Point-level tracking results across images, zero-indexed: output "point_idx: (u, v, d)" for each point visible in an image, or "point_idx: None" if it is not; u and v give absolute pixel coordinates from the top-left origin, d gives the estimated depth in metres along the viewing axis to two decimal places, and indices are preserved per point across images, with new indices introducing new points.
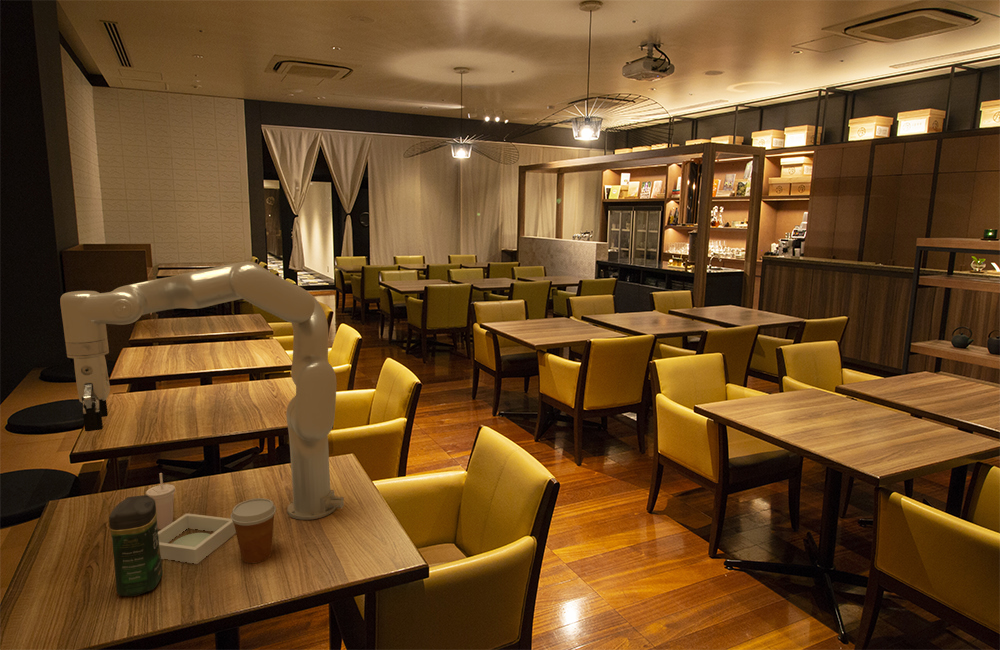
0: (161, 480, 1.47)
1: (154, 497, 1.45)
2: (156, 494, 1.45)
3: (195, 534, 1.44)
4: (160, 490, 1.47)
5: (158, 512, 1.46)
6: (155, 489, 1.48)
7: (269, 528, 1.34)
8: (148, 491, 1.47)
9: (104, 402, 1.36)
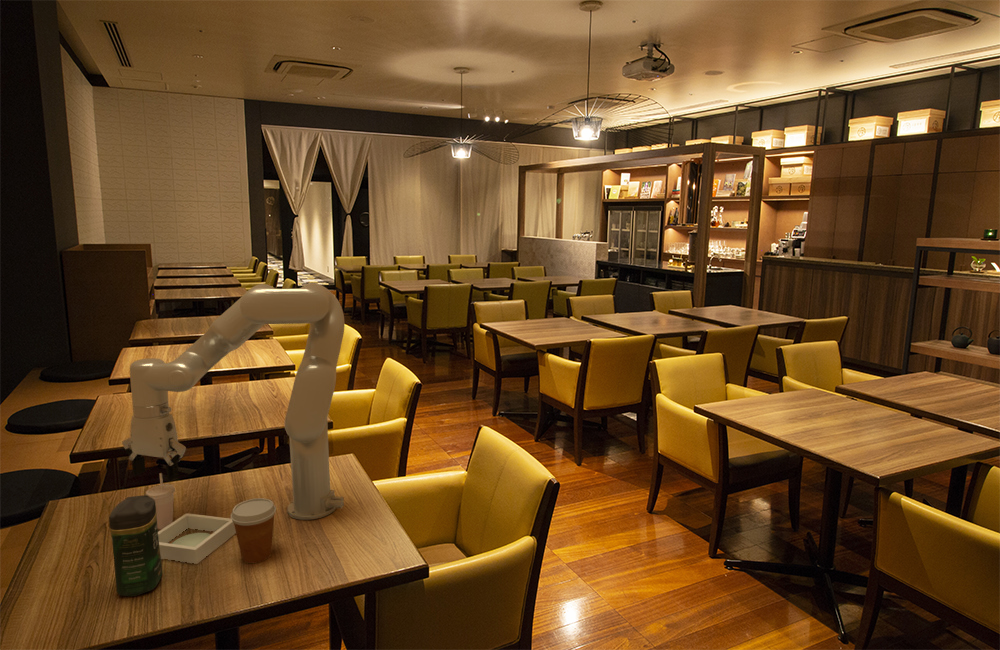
0: (161, 480, 1.47)
1: (154, 497, 1.45)
2: (156, 494, 1.45)
3: (195, 534, 1.44)
4: (160, 490, 1.47)
5: (158, 512, 1.46)
6: (155, 489, 1.48)
7: (269, 528, 1.34)
8: (148, 491, 1.47)
9: (143, 459, 1.49)
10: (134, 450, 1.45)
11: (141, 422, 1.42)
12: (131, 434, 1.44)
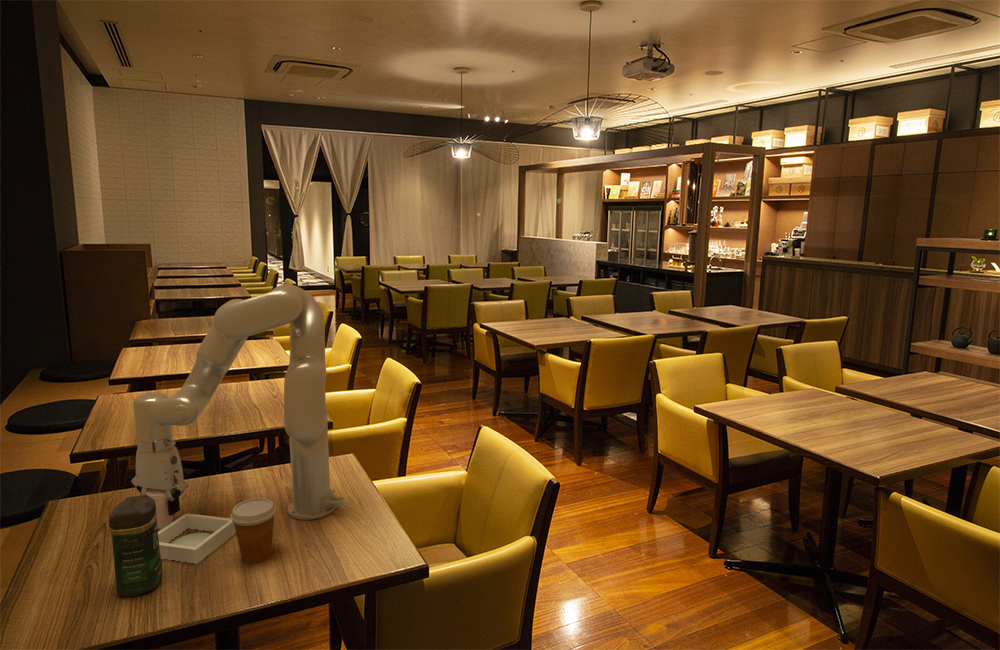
0: None
1: (154, 497, 1.45)
2: (155, 494, 1.45)
3: (195, 534, 1.44)
4: (160, 490, 1.47)
5: (158, 512, 1.46)
6: (155, 489, 1.48)
7: (269, 528, 1.34)
8: (148, 491, 1.47)
9: None
10: (140, 483, 1.46)
11: (145, 456, 1.44)
12: (136, 468, 1.46)
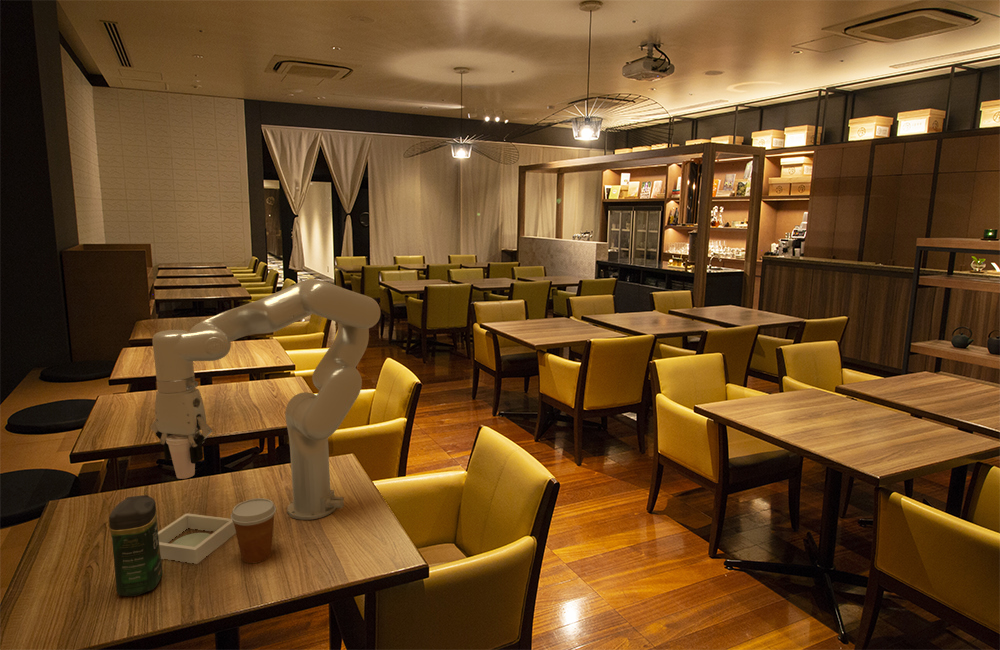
0: None
1: (175, 443, 1.33)
2: (177, 439, 1.34)
3: (195, 534, 1.44)
4: (181, 436, 1.35)
5: (179, 460, 1.35)
6: (176, 435, 1.36)
7: (269, 528, 1.34)
8: (168, 437, 1.35)
9: None
10: (160, 429, 1.35)
11: (166, 398, 1.32)
12: (156, 411, 1.34)
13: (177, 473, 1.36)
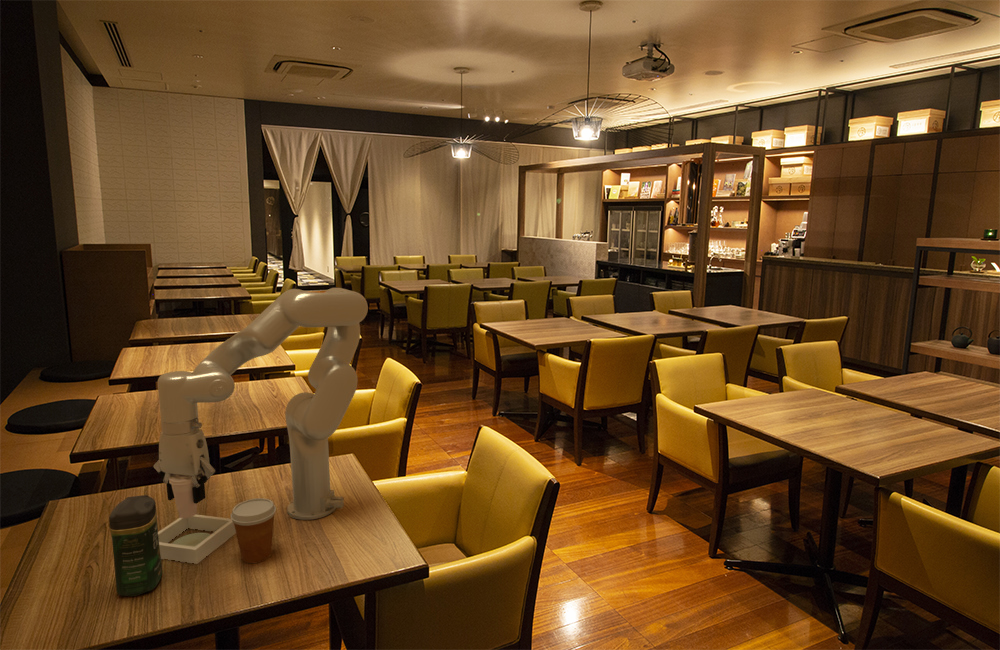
0: None
1: (178, 483, 1.35)
2: (180, 480, 1.35)
3: (195, 534, 1.44)
4: (184, 476, 1.37)
5: (182, 499, 1.36)
6: (179, 475, 1.38)
7: (269, 528, 1.34)
8: (171, 477, 1.37)
9: None
10: (163, 469, 1.36)
11: (170, 439, 1.34)
12: (160, 452, 1.36)
13: (179, 512, 1.37)
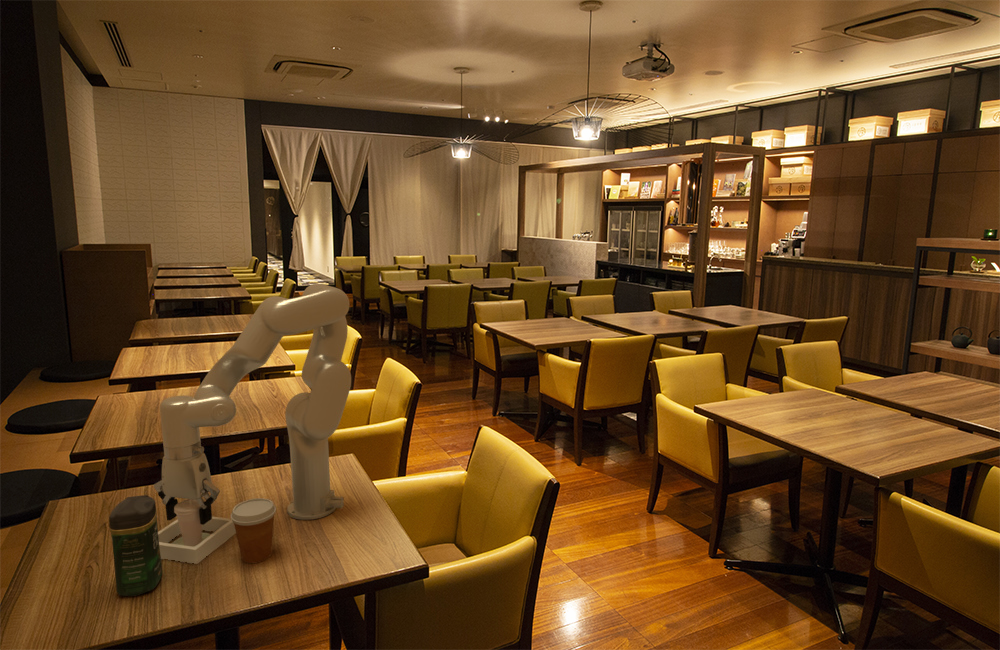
0: None
1: (183, 513, 1.36)
2: (185, 510, 1.37)
3: None
4: (189, 505, 1.38)
5: (187, 529, 1.38)
6: (184, 504, 1.39)
7: (269, 528, 1.34)
8: (176, 506, 1.38)
9: (177, 502, 1.41)
10: (166, 492, 1.37)
11: (173, 464, 1.35)
12: (163, 476, 1.37)
13: (185, 541, 1.39)
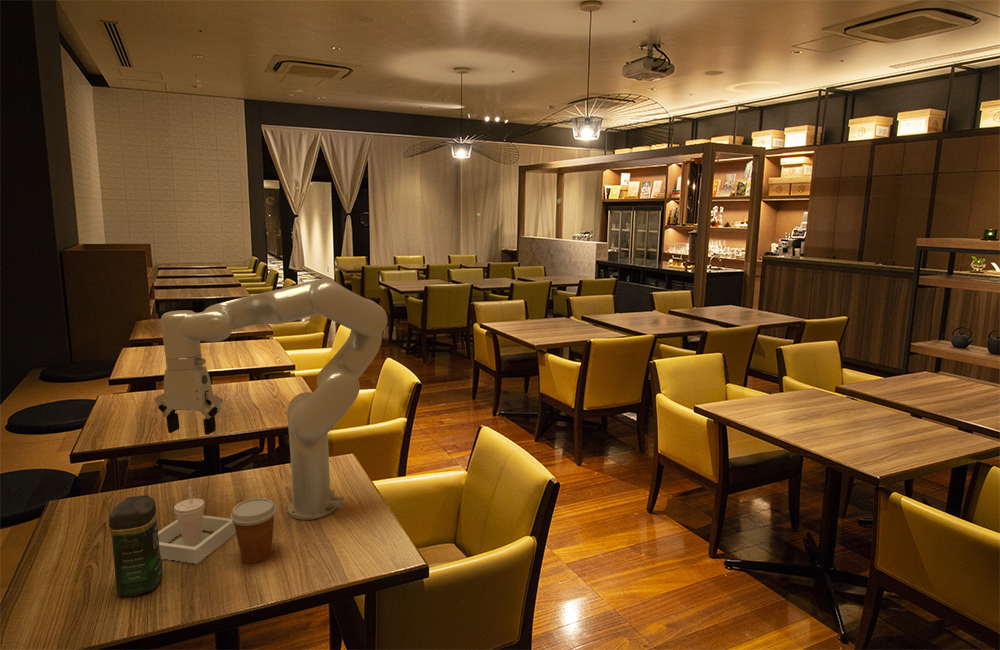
0: (190, 494, 1.39)
1: (183, 513, 1.36)
2: (185, 509, 1.37)
3: None
4: (189, 505, 1.38)
5: (187, 528, 1.38)
6: (184, 504, 1.39)
7: (269, 528, 1.34)
8: (176, 506, 1.38)
9: (177, 415, 1.45)
10: (169, 405, 1.41)
11: (175, 376, 1.38)
12: (165, 389, 1.40)
13: (185, 541, 1.39)
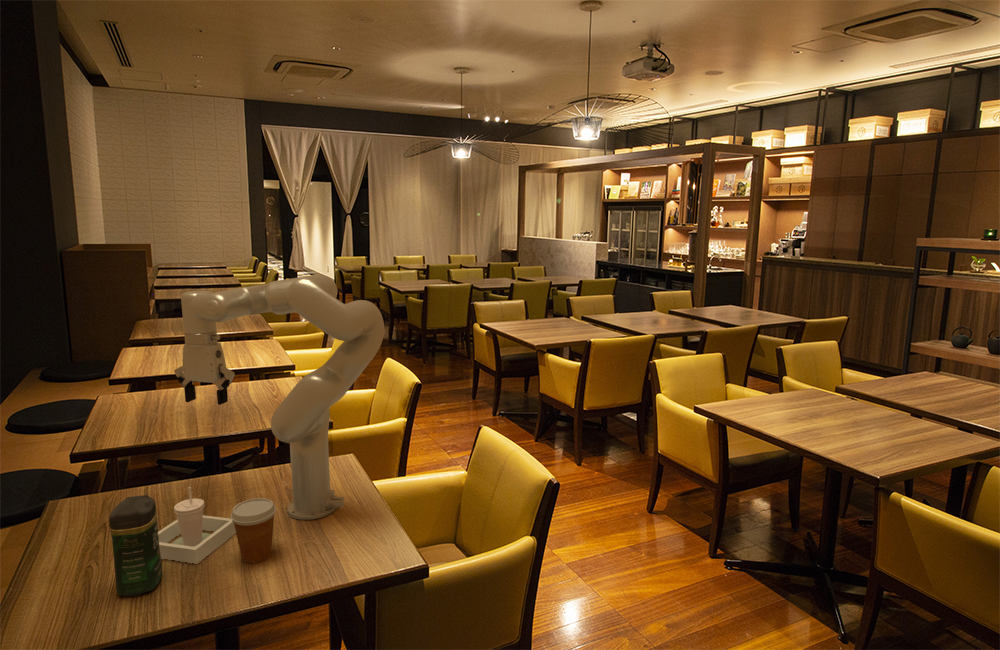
0: (190, 494, 1.38)
1: (183, 513, 1.36)
2: (185, 509, 1.37)
3: None
4: (189, 505, 1.38)
5: (187, 528, 1.38)
6: (184, 504, 1.39)
7: (269, 528, 1.34)
8: (176, 506, 1.38)
9: (194, 387, 1.59)
10: (186, 377, 1.55)
11: (192, 350, 1.52)
12: (183, 362, 1.54)
13: (185, 541, 1.39)
